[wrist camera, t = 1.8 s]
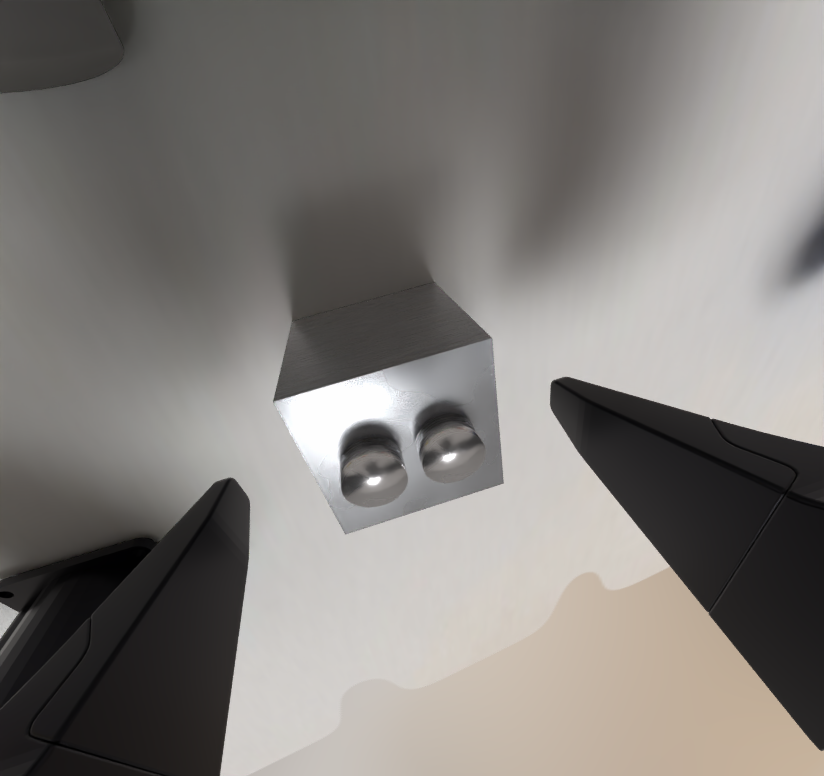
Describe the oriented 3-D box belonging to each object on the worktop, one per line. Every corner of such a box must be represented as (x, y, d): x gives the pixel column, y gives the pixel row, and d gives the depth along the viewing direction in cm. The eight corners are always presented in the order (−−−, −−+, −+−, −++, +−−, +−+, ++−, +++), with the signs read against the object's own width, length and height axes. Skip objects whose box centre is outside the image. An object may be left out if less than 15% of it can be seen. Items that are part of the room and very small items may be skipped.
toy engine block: (339, 429, 14) (347, 559, 9) (292, 320, 11) (267, 424, 7) (452, 396, 15) (515, 504, 10) (433, 281, 12) (507, 353, 7)
